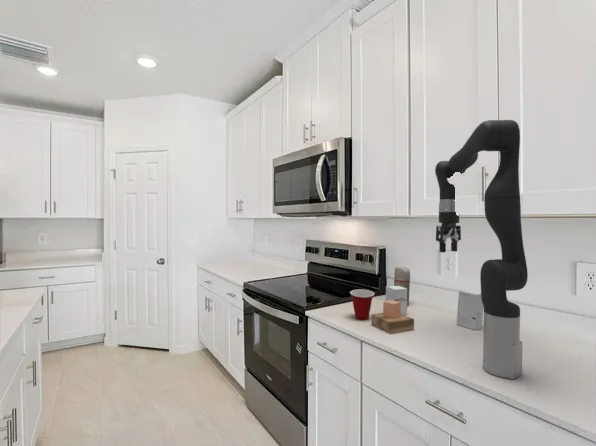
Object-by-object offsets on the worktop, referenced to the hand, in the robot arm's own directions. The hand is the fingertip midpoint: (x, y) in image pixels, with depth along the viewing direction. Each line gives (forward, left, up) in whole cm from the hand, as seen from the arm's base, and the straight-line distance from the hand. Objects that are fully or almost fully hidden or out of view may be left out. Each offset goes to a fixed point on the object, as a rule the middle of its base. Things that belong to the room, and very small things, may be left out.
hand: (448, 251), depth 133 cm
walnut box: (+16, +14, -32) cm, 39 cm away
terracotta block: (+16, +14, -28) cm, 35 cm away
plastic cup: (+32, +15, -32) cm, 48 cm away
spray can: (+37, -20, -32) cm, 53 cm away
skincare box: (-2, -14, -32) cm, 35 cm away
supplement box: (+28, -4, -32) cm, 43 cm away
